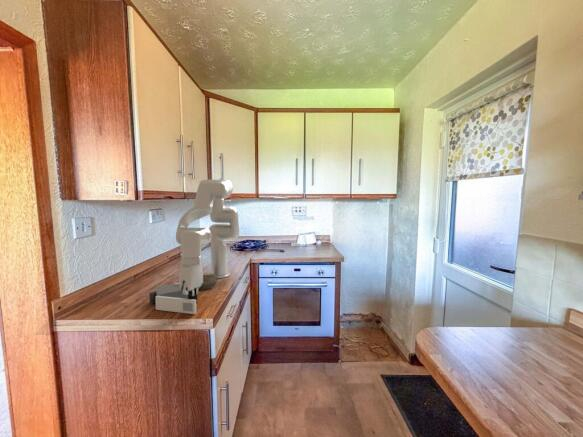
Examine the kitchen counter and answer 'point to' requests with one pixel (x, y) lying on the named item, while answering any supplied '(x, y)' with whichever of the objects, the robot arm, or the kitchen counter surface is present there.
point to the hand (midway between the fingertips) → (192, 304)
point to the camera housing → (167, 292)
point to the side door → (176, 304)
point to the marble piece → (208, 282)
